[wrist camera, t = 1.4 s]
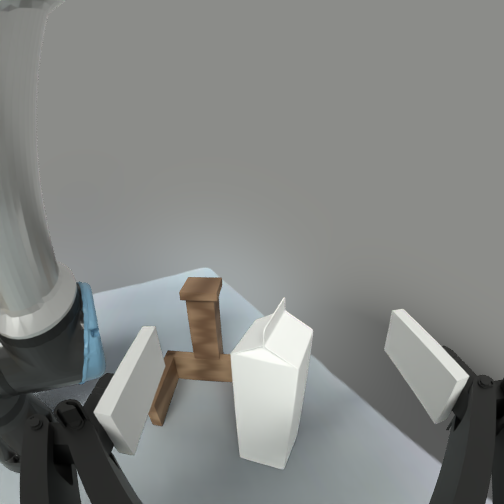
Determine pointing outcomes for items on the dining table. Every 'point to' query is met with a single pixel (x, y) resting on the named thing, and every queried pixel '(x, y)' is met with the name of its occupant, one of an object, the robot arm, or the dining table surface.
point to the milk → (270, 386)
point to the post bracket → (195, 345)
